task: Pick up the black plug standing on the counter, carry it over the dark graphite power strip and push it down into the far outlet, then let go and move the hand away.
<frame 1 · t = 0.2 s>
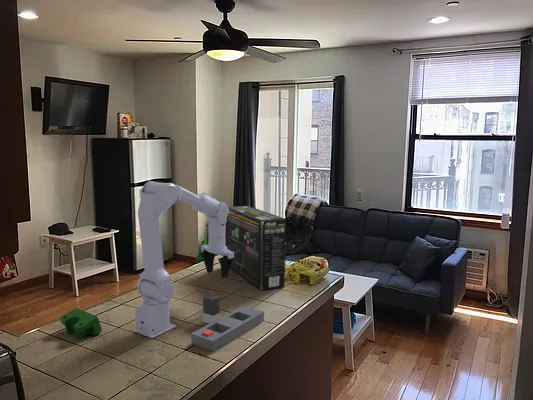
hand: (217, 274, 152), 10 cm above the counter, tool pointing down, fingers open, 7 cm apart
plug: (211, 321, 137), on the counter
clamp: (80, 334, 129), on the counter
power strip: (229, 331, 131), on the counter
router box: (253, 276, 182), on the counter
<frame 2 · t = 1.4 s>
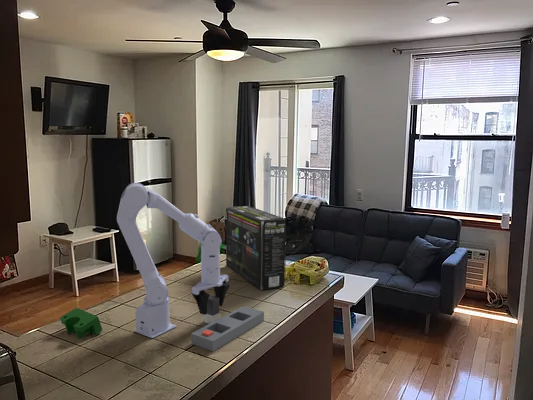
hand: (211, 309, 137), 4 cm above the counter, tool pointing down, fingers open, 7 cm apart
nothing on the counter moved.
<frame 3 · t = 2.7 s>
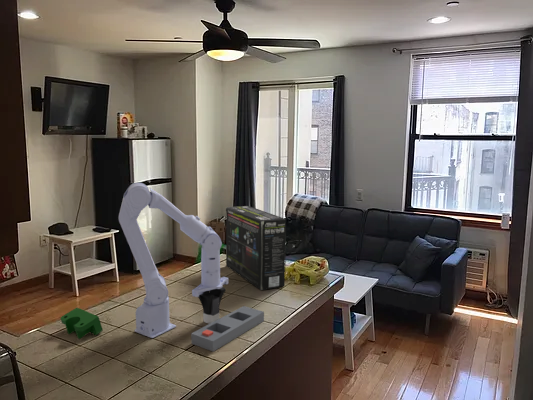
hand: (211, 311, 137), 3 cm above the counter, tool pointing down, fingers closed on plug, 3 cm apart
plug: (211, 321, 137), on the counter, touching gripper
everything else where it was.
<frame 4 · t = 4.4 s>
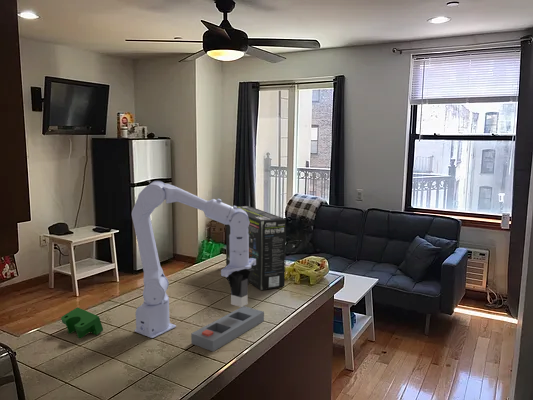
hand: (239, 293, 133), 10 cm above the counter, tool pointing down, fingers closed on plug, 3 cm apart
plug: (239, 304, 134), point 7 cm above the counter, touching gripper
everything else where it was.
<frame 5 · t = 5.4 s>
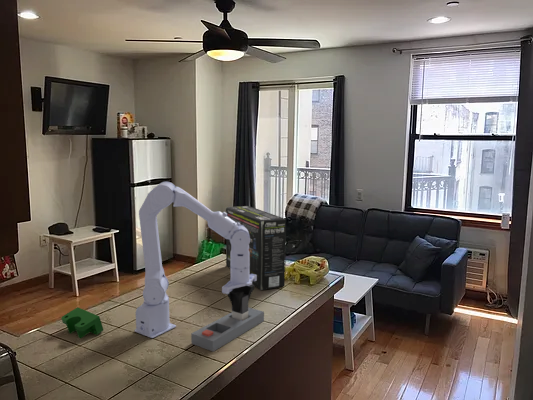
hand: (240, 309, 134), 5 cm above the counter, tool pointing down, fingers closed on plug, 3 cm apart
plug: (240, 320, 134), point 2 cm above the counter, touching gripper
everything else where it was.
when the fingers open (4 cm above the counter, at t = 6.3 s): plug stays where it is, resting on power strip.
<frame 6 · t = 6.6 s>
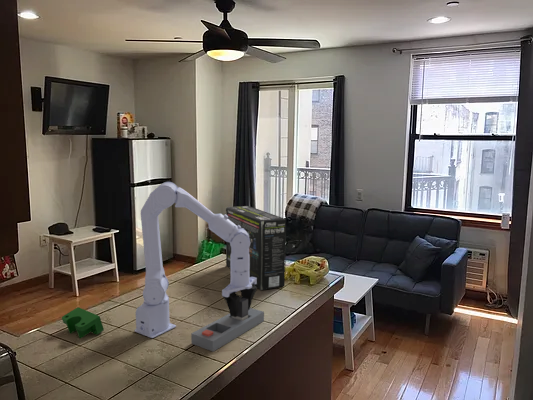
hand: (240, 312, 134), 4 cm above the counter, tool pointing down, fingers open, 6 cm apart
plug: (240, 323, 135), resting on power strip
everything else where it was.
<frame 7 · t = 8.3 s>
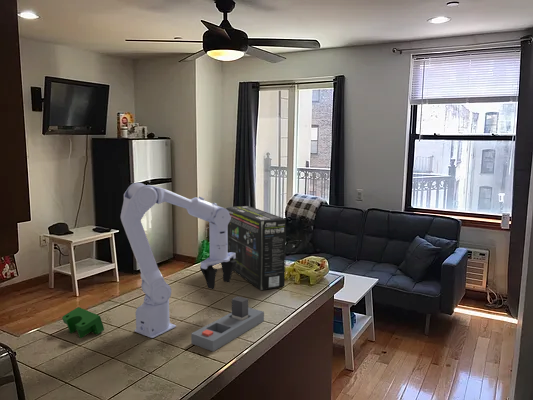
hand: (219, 285, 141), 10 cm above the counter, tool pointing down, fingers open, 7 cm apart
nothing on the counter moved.
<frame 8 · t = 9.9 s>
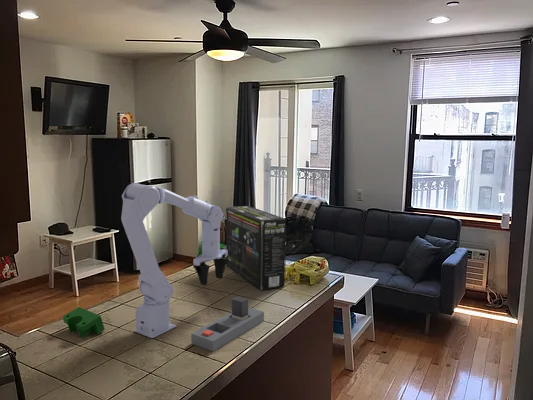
hand: (211, 281, 145), 10 cm above the counter, tool pointing down, fingers open, 7 cm apart
nothing on the counter moved.
at the end: plug 0.1 cm from the target spot on the power strip, point 0.5 cm above the power strip's base; plug tilted 0°; the gripper is holding nothing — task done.
